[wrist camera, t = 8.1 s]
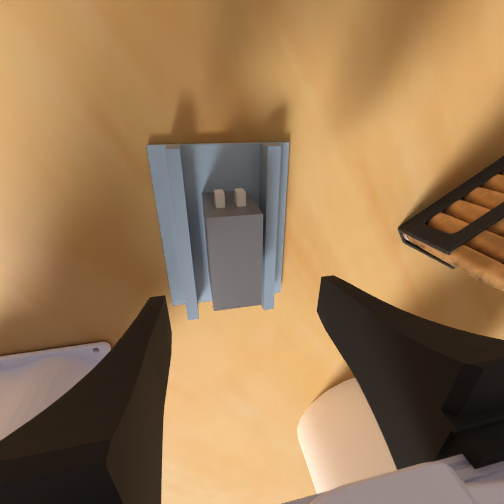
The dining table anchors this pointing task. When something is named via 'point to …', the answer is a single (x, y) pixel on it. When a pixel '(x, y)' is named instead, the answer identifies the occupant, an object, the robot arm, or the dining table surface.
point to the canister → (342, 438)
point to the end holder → (191, 209)
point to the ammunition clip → (465, 227)
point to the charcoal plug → (233, 248)
